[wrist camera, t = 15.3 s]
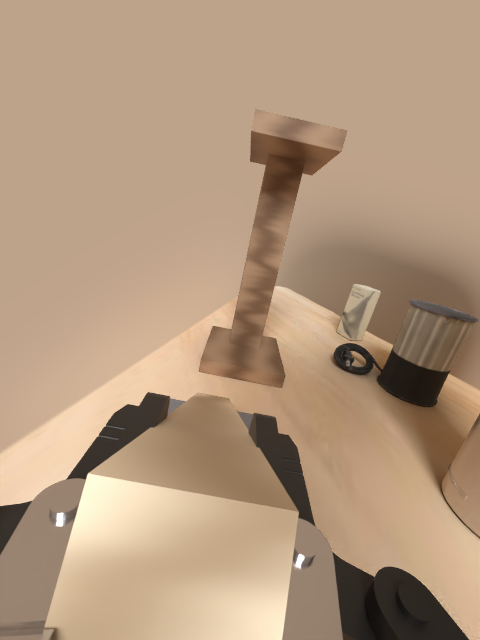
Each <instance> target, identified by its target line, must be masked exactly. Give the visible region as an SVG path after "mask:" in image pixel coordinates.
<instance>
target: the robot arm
mask: <svg viewBox="0 0 480 640" xmlns="http://www.w3.org/2000/svg"><path fill="white" fill-rule="evenodd" d="M169 403H170V396H165V395H160V394H155V393H150V392H148V393H147V394H146V396H145V397H144V399H143V401H142V402H141V404H140V405H139V406H135V405H129V404H128V405H126V406H124V407H123V408H121V409H120V410H118V411H117V412H115V413H114V414H113V416H112V417H111V418H110V420H109V421H108V423H107V424H106V427H104V428H103V429H102V431H101V432H100V434H99V436H98V437H97V438H96V439H95V441H94V442H93V443H92V445H91V446H90V447H89V449H88V450H87V452H86V453H85V454H84V456H83V457H82V458H81V460H80V461H79V463H78V464H77V465H76V467H75V468H74V470H73V471H72V472H71V474H70V475H69V476H68V478H67V479H66V480H63V481H60V482H58V483H55V484H53V485H51V486H49V487H48V488H46V489H45V490H43V491H42V492H41V493H40V494H38V495H37V496H36V498H35V499H34V500H33V501H30V502H26V503H21V504H14V505H6V506H0V640H53V638H54V633H55V628H44V627H45V623H46V620H47V616H48V613H49V609H50V606H51V602H52V599H53V595H54V591H55V588H56V584H57V581H58V577H59V574H60V570H61V567H62V563H63V560H64V556H65V553H66V549H67V546H68V542H69V538H70V535H71V531H72V528H73V524H74V521H75V517H76V514H77V510H78V507H79V503H80V500H81V496H82V492H83V489H84V485H85V482H86V478H87V475H88V473H89V472H91V471H92V470H93V469H95V468H96V467H97V466H99V465H100V464H102V463H103V462H104V461H106V460H107V459H108V458H110V457H111V456H112V455H114V454H115V453H117V452H118V451H119V450H121V449H122V448H123V447H125V446H126V445H127V444H129V443H130V442H132V441H133V440H134V439H136V438H137V437H138V436H140V435H141V434H142V433H144V432H145V431H147V430H148V429H149V428H151V427H152V428H154V427H155V426H157V425H158V424H159V423H161V422H162V421H163V420H164V419H166V418H167V416H168V409H169ZM248 433H249V435H250V437H251V438H252V440H253V442H254V443H255V445H256V447H258V448H260V450H261V451H262V453H263V455H264V456H265V458H266V459H267V461H268V463H269V464H270V466H271V468H272V469H273V471H274V472H275V474H276V476H277V477H278V479H279V480H280V482H281V484H282V485H283V487H284V489H285V490H286V492H287V493H288V495H289V497H290V498H291V500H292V501H293V503H294V505H295V506H296V508H297V510H298V511H299V515H298V522H297V530H296V538H295V545H294V553H293V560H292V568H291V576H290V583H289V591H288V598H287V606H286V614H285V621H284V629H283V636H282V640H469V639H468V638H467V636H466V635H465V634H464V633H463V632H462V630H461V629H460V628H459V627H458V625H457V624H456V623H455V622H454V620H453V619H452V618H451V617H450V615H449V614H448V613H447V612H446V610H445V609H444V608H443V607H442V605H441V604H440V603H439V602H438V600H437V599H436V598H435V597H434V596H433V594H432V593H431V592H430V591H429V590H428V589H427V588H426V587H425V586H424V585H423V584H422V583H421V582H420V581H419V580H418V579H416V578H415V577H414V576H412V575H411V574H409V573H408V572H406V571H404V570H402V569H399V568H395V567H384V568H382V569H380V570H379V571H378V572H377V574H376V576H375V577H373V576H372V575H370V574H368V573H366V572H364V571H362V570H360V569H358V568H356V567H355V566H353V565H351V564H349V563H347V562H345V561H344V560H342V559H341V558H339V557H338V556H337V555H335V554H334V553H333V552H332V550H331V547H330V545H329V543H328V541H327V540H326V538H325V536H324V535H323V534H322V533H321V532H320V531H319V530H318V529H317V528H316V527H315V524H314V520H313V516H312V511H311V507H310V502H309V498H308V493H307V489H306V485H305V480H304V476H303V471H302V467H301V464H300V458H299V453H298V449H297V447H296V445H295V444H294V442H293V441H292V439H291V438H290V437H289V435H285V434H279V433H278V429H277V422H276V418H275V417H273V416H267V415H262V414H257V413H254V414H253V417H252V421H251V425H250V428H249V432H248ZM442 490H443V494H444V496H445V498H446V500H447V502H448V503H449V505H450V506H451V508H452V509H453V511H454V512H455V513H456V514H457V515H458V516H459V518H460V519H461V520H462V521H463V522H464V523H465V524H466V525H467V526H468V527H469V528H470V529H471V530H472V531H473V532H474V533H476V534H477V535H478V536H479V537H480V414H479V416H478V418H477V419H476V421H475V423H474V425H473V427H472V428H471V430H470V432H469V434H468V436H467V437H466V439H465V441H464V443H463V445H462V446H461V448H460V450H459V452H458V453H457V455H456V457H455V459H454V461H453V462H452V464H451V465H450V466H449V469H448V471H447V473H446V475H445V477H444V479H443V480H442Z"/></svg>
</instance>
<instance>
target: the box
mask: <svg viewBox="0 0 480 640" xmlns="http://www.w3.org/2000/svg"><path fill="white" fill-rule="evenodd" d="M380 293H381V292H380V291H379V290H376V289H373V288H370V287H367V286H364V285H357V284H354V285H353V287H352V290H351V293H350V296H349V298H348V301H347V304H346V307H345V309H344V313H343V315H342V318H341V320H340V323H339V326H338V329H337V333H339V334H340V335H342V336H344V337H345V338H347V339H349V340H362V338H363V336H364V333H365V331H366V328H367V325H368V323H369V320H370V318H371V315H372V313H373V310H374V308H375V305H376V303H377V300H378V298H379V296H380Z"/></svg>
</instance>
